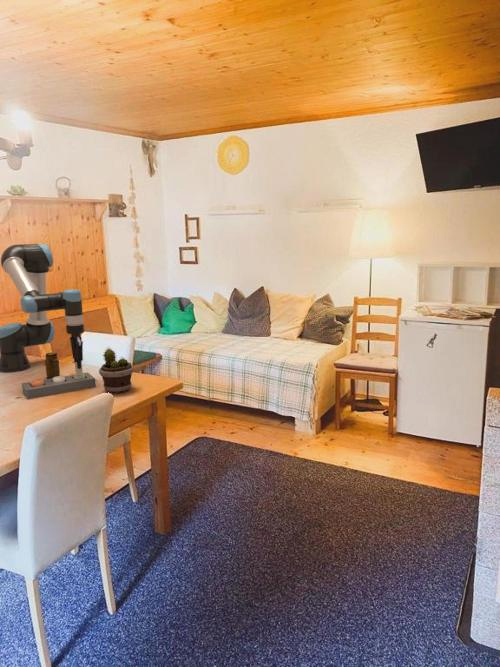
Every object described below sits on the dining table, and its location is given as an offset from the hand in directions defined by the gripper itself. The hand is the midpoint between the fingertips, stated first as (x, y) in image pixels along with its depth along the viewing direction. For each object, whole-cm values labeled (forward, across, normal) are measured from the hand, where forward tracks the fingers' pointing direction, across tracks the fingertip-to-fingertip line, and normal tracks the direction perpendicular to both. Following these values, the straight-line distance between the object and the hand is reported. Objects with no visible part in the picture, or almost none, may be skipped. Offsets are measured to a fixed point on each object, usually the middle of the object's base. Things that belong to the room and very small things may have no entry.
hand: (79, 374), depth 226 cm
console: (+5, 0, -9) cm, 10 cm away
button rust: (+3, 0, -18) cm, 18 cm away
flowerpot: (+6, +17, +12) cm, 21 cm away
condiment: (+5, -21, -7) cm, 23 cm away
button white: (+3, 0, -9) cm, 10 cm away
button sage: (+4, 0, 0) cm, 4 cm away
